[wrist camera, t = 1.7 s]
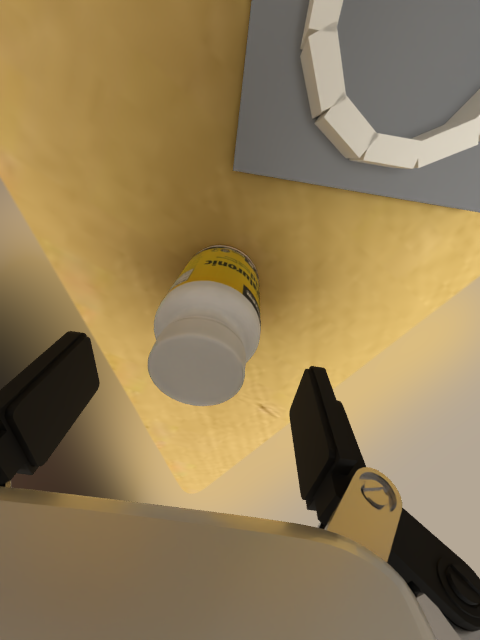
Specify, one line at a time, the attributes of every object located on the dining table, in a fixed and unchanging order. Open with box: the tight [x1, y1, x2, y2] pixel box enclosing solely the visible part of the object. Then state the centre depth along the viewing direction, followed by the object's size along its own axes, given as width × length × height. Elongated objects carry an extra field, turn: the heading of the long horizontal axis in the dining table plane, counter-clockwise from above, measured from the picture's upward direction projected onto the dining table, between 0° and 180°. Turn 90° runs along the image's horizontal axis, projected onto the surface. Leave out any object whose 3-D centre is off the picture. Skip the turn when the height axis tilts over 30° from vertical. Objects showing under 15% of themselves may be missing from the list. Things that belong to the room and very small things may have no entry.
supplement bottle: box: [148, 245, 261, 406], centre depth 14 cm, size 5×5×10 cm
